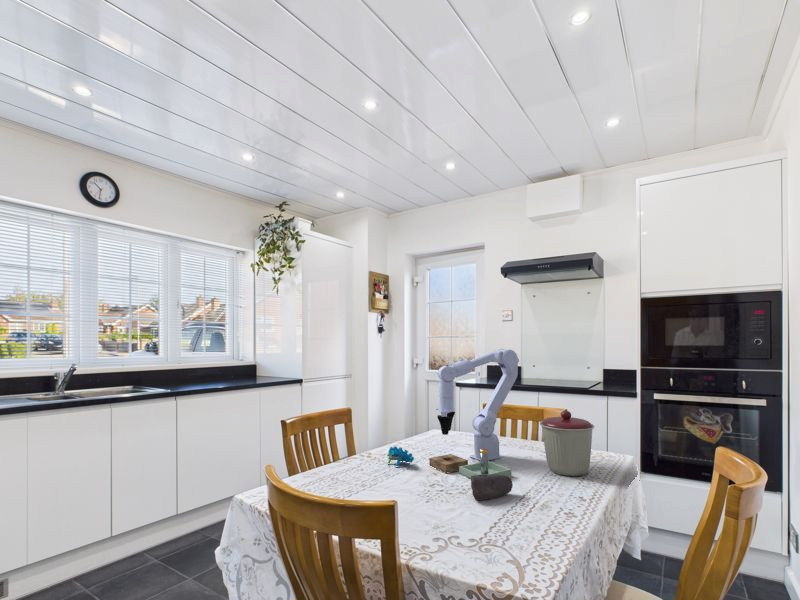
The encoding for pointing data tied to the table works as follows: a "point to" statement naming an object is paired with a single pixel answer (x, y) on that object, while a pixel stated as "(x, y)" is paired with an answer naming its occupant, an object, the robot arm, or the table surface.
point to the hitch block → (447, 462)
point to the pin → (484, 461)
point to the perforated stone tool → (490, 486)
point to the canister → (567, 444)
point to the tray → (476, 470)
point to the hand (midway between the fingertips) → (446, 432)
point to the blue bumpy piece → (399, 455)
